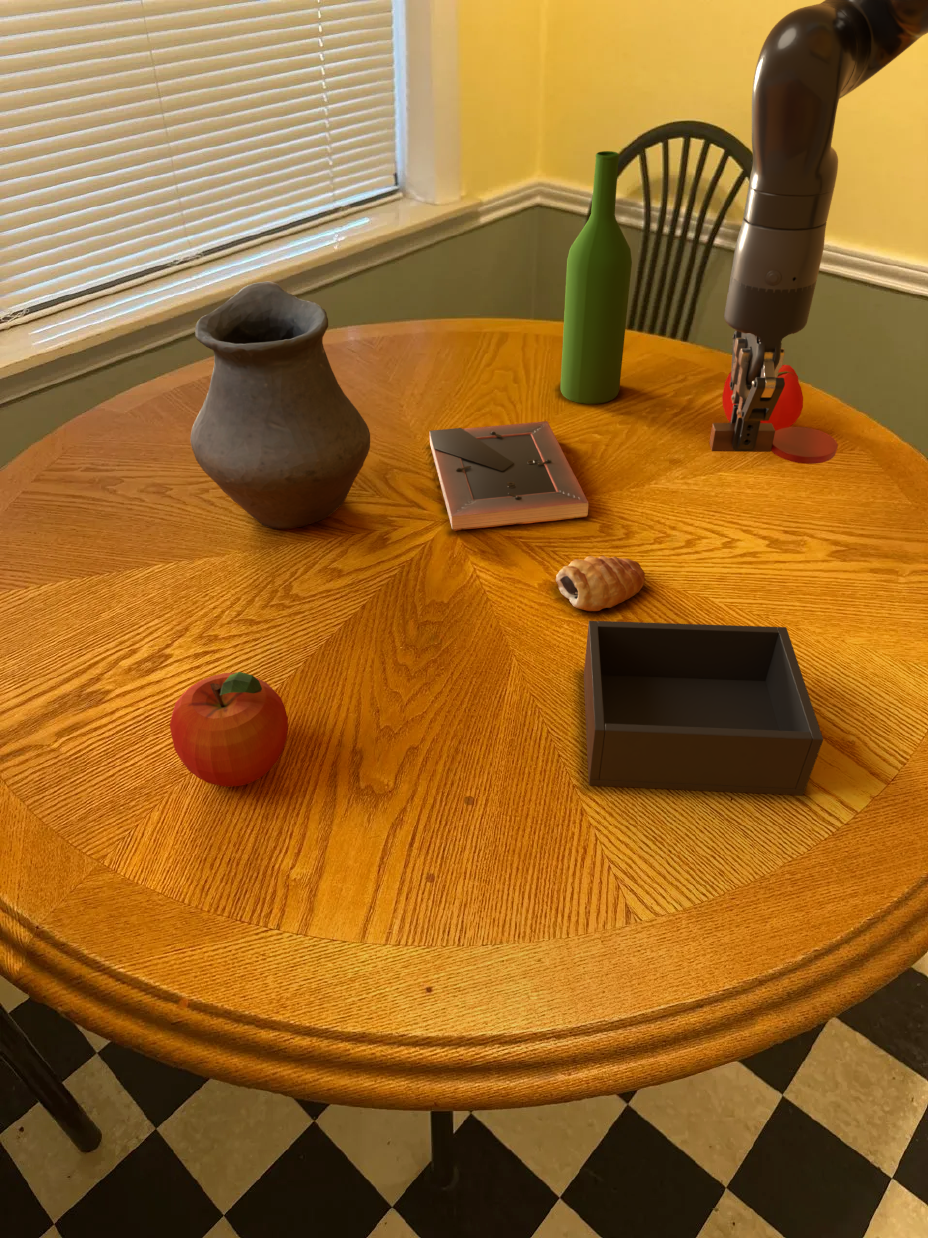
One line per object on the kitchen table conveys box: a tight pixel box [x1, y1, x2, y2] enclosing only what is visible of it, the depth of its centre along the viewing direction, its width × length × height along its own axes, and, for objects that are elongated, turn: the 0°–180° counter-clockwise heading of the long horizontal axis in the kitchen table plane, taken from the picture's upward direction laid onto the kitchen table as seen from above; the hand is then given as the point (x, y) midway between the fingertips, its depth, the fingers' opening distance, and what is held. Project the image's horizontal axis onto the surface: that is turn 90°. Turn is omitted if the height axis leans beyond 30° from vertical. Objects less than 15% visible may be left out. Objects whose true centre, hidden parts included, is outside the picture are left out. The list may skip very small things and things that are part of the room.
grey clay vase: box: [189, 281, 371, 530], centre depth 100 cm, size 21×22×25 cm
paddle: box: [709, 422, 838, 465], centre depth 88 cm, size 13×7×2 cm, turn 86°
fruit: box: [169, 671, 289, 788], centre depth 72 cm, size 10×10×10 cm
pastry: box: [555, 555, 646, 612], centre depth 92 cm, size 9×7×4 cm
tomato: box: [721, 364, 804, 431], centre depth 118 cm, size 11×11×9 cm
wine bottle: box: [559, 150, 633, 405], centre depth 121 cm, size 9×9×32 cm
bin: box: [583, 620, 824, 796], centre depth 75 cm, size 18×14×7 cm
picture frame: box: [429, 420, 590, 531], centre depth 110 cm, size 16×2×22 cm
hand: (740, 443), depth 89 cm, fingers closed on paddle, 2 cm apart
